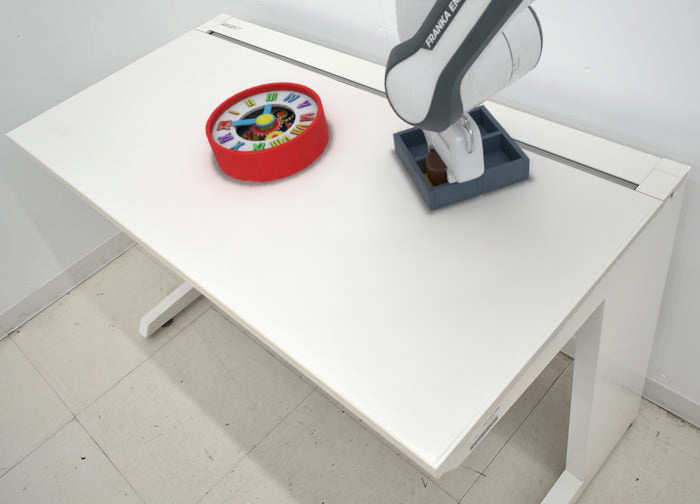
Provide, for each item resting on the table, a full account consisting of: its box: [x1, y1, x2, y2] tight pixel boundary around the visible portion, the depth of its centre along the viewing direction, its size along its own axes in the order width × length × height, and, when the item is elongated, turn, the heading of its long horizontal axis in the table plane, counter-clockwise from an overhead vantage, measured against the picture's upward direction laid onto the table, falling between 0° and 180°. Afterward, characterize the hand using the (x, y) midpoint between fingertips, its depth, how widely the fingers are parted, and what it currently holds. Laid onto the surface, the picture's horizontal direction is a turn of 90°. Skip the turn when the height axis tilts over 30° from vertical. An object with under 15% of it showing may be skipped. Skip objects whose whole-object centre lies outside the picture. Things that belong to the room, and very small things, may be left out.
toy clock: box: [204, 81, 330, 183], centre depth 103 cm, size 20×6×20 cm
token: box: [426, 150, 448, 186], centre depth 88 cm, size 5×5×3 cm
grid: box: [392, 104, 531, 212], centre depth 92 cm, size 15×15×4 cm
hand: (444, 166), depth 88 cm, fingers closed on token, 5 cm apart
